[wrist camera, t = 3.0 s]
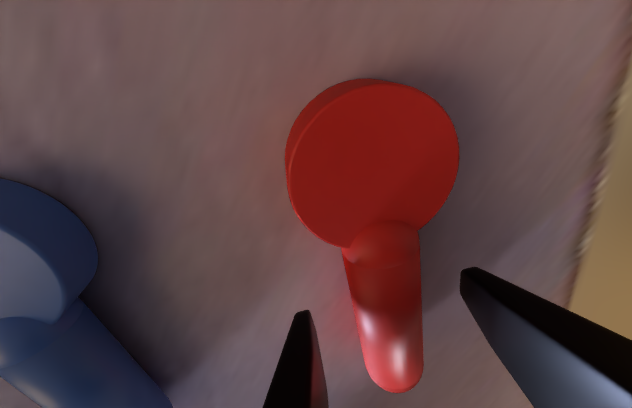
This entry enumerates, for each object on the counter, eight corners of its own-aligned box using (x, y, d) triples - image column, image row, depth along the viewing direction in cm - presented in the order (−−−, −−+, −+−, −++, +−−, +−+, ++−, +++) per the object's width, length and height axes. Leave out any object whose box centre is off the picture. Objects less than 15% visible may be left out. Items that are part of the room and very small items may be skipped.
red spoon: (431, 337, 11) (460, 389, 9) (339, 361, 11) (352, 419, 9) (428, 60, 6) (487, 61, 5) (265, 100, 6) (262, 116, 4)
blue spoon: (212, 395, 11) (200, 459, 9) (117, 420, 11) (87, 490, 9) (35, 155, 6) (-59, 195, 4) (-136, 198, 6) (-303, 254, 4)
